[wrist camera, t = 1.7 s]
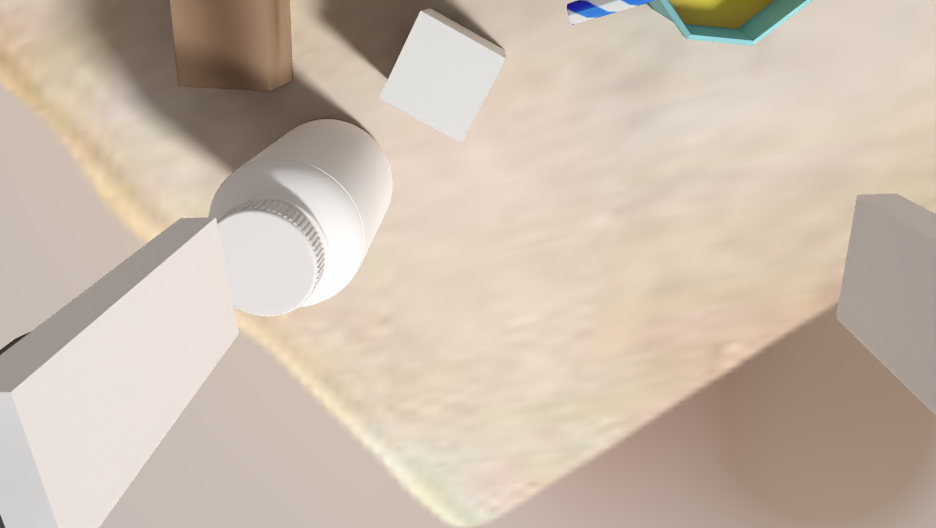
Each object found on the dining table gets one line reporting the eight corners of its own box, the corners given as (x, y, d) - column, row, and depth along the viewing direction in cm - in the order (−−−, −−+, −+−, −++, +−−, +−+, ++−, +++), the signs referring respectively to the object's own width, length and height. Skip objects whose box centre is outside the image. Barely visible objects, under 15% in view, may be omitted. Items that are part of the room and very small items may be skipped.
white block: (394, 84, 42) (378, 98, 37) (430, 8, 41) (420, 10, 35) (466, 123, 43) (461, 142, 37) (504, 50, 41) (506, 58, 36)
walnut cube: (213, 75, 43) (178, 86, 38) (206, -11, 41) (168, -12, 36) (293, 80, 43) (268, 91, 38) (289, -7, 41) (262, -7, 36)
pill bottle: (271, 228, 46) (174, 331, 32) (275, 108, 43) (169, 163, 29) (389, 244, 46) (343, 353, 32) (400, 126, 43) (355, 189, 29)
